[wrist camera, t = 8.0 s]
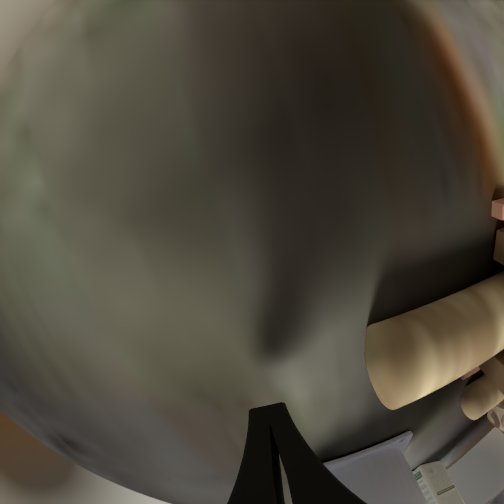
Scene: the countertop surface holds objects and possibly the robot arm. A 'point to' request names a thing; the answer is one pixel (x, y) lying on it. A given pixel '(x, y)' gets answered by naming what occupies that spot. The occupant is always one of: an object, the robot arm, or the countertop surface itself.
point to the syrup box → (437, 484)
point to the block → (500, 365)
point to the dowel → (435, 343)
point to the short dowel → (480, 397)
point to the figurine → (497, 416)
